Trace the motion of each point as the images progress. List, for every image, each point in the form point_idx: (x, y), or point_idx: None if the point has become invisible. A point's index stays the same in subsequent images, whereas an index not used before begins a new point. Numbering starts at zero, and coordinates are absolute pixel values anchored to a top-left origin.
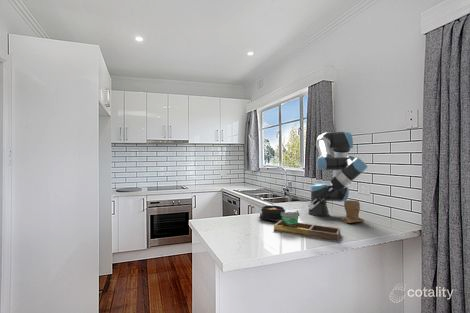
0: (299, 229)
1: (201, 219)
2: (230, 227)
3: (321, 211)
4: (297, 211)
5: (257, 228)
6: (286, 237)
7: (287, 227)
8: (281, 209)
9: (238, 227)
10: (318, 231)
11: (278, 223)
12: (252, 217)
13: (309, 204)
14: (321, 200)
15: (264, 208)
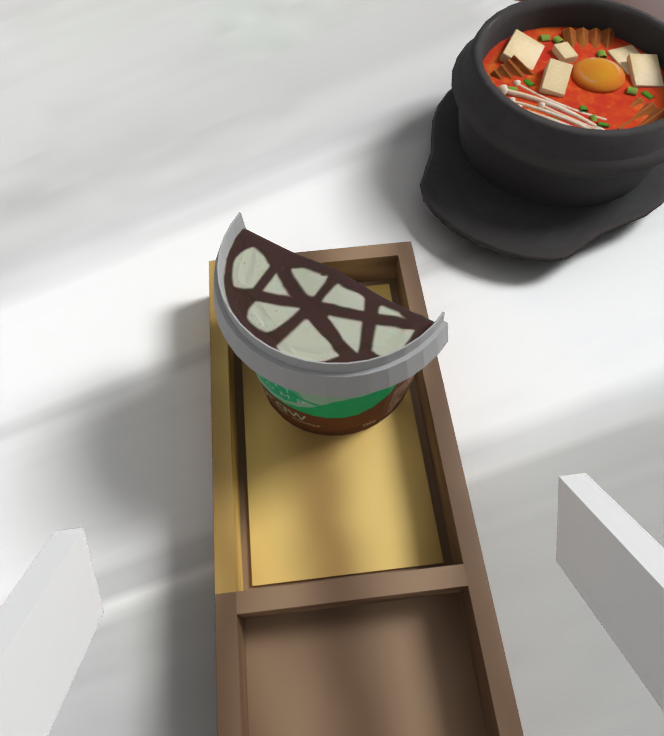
0: (215, 497)
1: None
2: (130, 66)
3: None
4: (427, 331)
5: (208, 184)
6: (88, 444)
7: (212, 377)
8: (579, 136)
9: (158, 95)
10: (224, 730)
11: None
12: None
13: (32, 566)
14: (645, 684)
15: (481, 29)
